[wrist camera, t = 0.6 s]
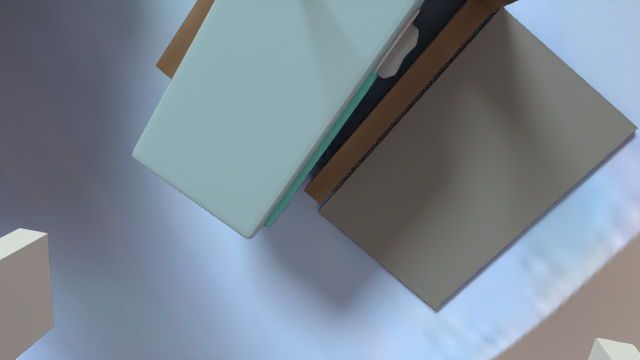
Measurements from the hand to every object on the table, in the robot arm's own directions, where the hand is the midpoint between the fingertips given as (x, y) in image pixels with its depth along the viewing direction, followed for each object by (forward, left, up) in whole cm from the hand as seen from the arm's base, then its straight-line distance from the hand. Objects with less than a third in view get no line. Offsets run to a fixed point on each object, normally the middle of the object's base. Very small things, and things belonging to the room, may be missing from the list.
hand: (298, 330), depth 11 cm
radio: (-6, +2, -24) cm, 25 cm away
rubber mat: (+7, +3, -24) cm, 25 cm away
